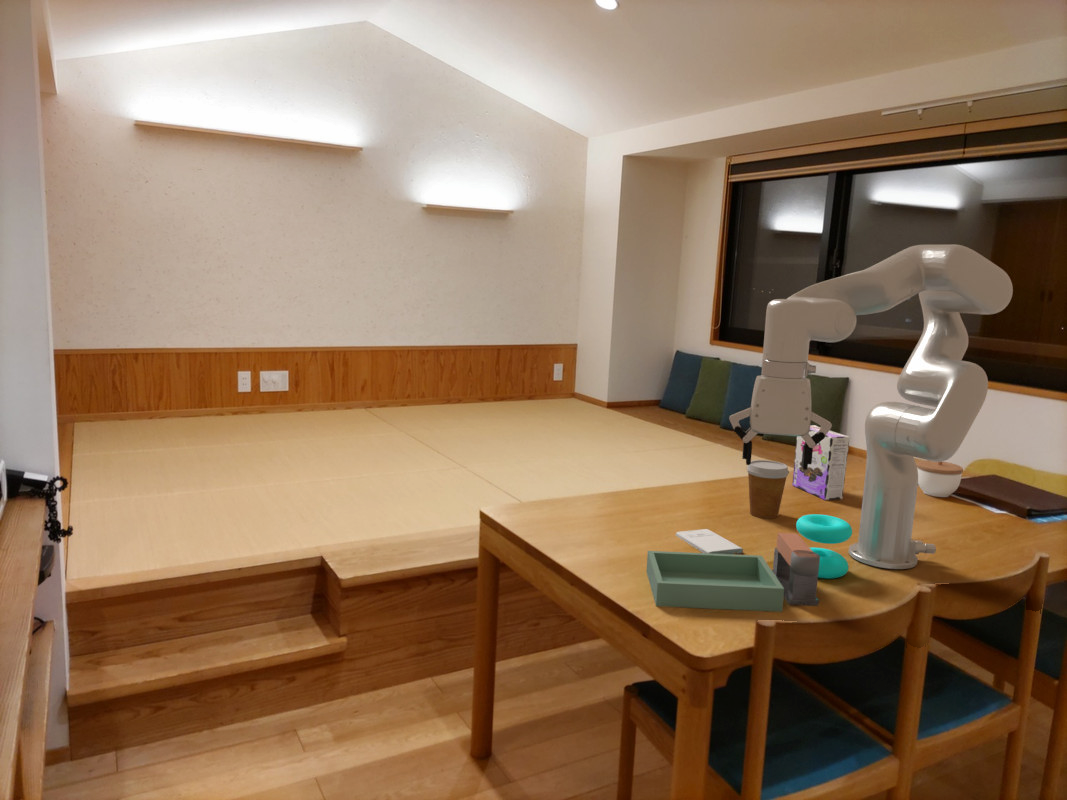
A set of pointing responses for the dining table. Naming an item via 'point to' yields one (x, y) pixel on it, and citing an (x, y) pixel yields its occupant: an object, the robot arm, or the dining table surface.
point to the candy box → (823, 465)
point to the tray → (713, 581)
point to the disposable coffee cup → (766, 487)
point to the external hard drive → (709, 542)
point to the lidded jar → (938, 477)
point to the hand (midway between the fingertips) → (776, 465)
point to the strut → (798, 554)
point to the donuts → (826, 541)
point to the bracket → (795, 583)
